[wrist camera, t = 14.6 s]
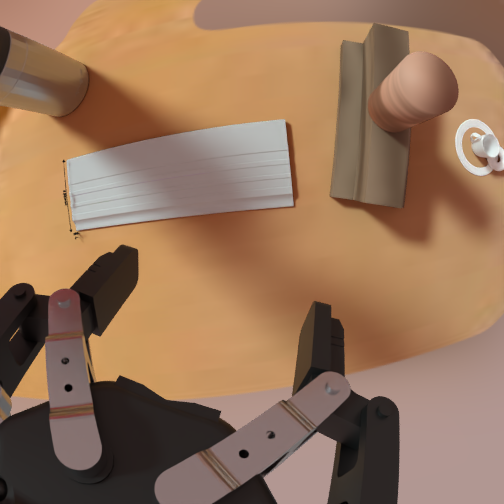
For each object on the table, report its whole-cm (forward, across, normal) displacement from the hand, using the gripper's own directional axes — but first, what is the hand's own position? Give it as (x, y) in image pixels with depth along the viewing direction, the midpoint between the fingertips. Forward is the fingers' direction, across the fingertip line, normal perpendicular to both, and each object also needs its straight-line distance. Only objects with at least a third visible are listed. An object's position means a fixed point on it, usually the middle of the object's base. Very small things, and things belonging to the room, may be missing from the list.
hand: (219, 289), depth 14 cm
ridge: (+30, -10, -6) cm, 32 cm away
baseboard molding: (+26, +13, +8) cm, 30 cm away
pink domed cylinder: (+23, -10, -8) cm, 26 cm away
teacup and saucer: (+31, -27, -5) cm, 41 cm away
